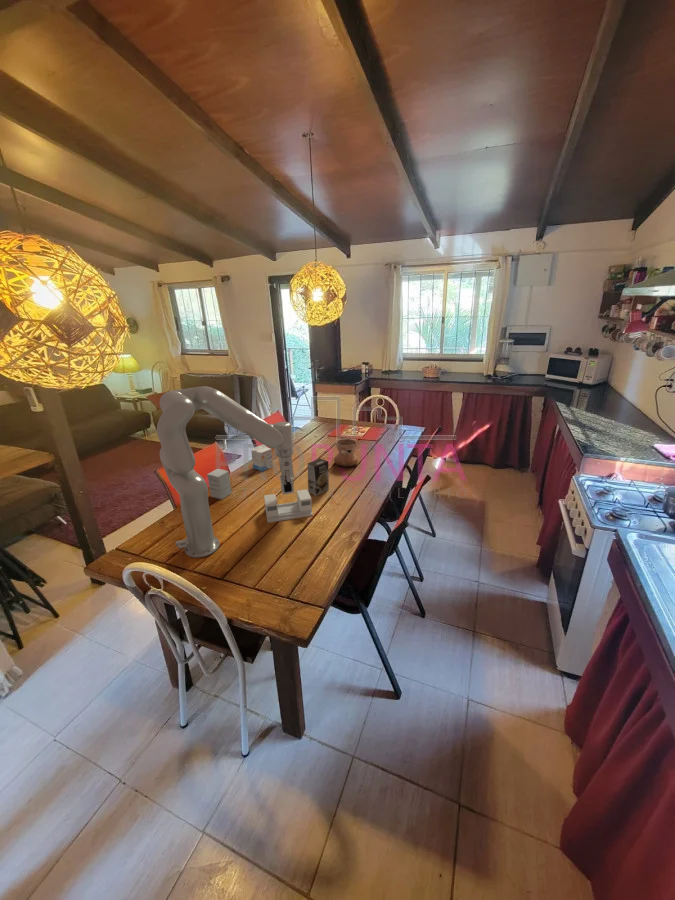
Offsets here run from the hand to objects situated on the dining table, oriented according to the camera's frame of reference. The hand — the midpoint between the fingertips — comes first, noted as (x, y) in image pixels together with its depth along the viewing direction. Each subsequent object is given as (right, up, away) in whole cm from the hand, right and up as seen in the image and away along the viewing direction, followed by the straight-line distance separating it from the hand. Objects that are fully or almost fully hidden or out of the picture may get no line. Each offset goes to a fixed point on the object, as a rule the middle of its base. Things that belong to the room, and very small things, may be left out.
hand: (287, 488), depth 153 cm
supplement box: (-36, -6, +20) cm, 42 cm away
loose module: (0, -1, +1) cm, 2 cm away
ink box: (-22, +7, +51) cm, 56 cm away
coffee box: (+13, -4, +23) cm, 27 cm away
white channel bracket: (0, -11, +4) cm, 12 cm away
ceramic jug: (+28, +9, +55) cm, 63 cm away
